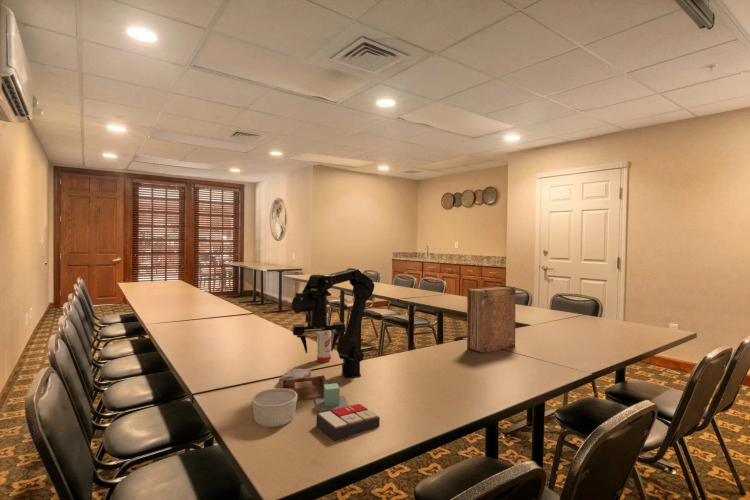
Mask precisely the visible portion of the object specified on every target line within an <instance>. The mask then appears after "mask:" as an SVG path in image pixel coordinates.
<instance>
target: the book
mask: <svg viewBox="0 0 750 500" xmlns="http://www.w3.org/2000/svg"><path fill="white" fill-rule="evenodd" d="M516 288H517V287H516V286H507V285H495V286H484V287H483V286H482V287H474V288H467V290H466V292H467V293H466V295H467V298H466V301H467V303H466V304H467V305H466V350H472V351H476V352H479V353H480V354H486V353H491V352H495V351H500V350H503V349H508V348H512V347H515V346H516V295H517V294H516Z"/></svg>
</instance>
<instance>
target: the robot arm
mask: <svg viewBox="0 0 750 500" xmlns="http://www.w3.org/2000/svg"><path fill="white" fill-rule="evenodd" d="M345 282H349V284H350V285H351V286H352V293H353V304H352V308H351V311H350V316H349V319H348V323H347V326H346V325H345V324H344V322H343V321H337V322H336V321H334V322H332V324H329V325H327V324H328V303H327V302H328V298H327V297H331V296H332V293H331V292H329V289H332V288H333V286H334V285H338V284H341V283H345ZM374 289H375V283H374V280H373V279H371V278H370V277H369V276H367V275H365V274H364V273H362V271H360V270H359V269H357V268H348V269H345V270H342V271H341V270H340V271H337V272H333V273H329V274H312V275H309V278H308V281H307V283H306V284H305V286H304V288H303V290H302V291H301V292H296V293H295V296H294V297H293V299H292V301H291V308H292V310H293V312H294V313H295V314H300V313H305V314H304V315H305V317H304V319H305V323H306V324H308V323H309V325H306V326H305V325H304V324H303V323H302V324H301V323H299V324H293V325H292V336H296V337H297V339H300V340H301V342H302V345H303V348H304V351H305V354H307V353H308V346H307V339H306V338H307V337H306V333H309V332H317V331H326V330H331V352H333V351H334V348H335V345H336V351H337V354H338V357H339V359H340V360H342V363H341V374H342V375H343V377H344V378H346V379H347V378H357V377H358V378H359V377H360V378H361V377H362V374H361V362H362V361H363V360H364V357H365V354H364V353H363V352H362V351H361V349H360V344H361V343H360V339H359V332H360V328H361V324H362V321H363V316H364V313H365V308H366V304H367V301H368V300H369V299H370V298H371V297H372V296H373V292H374ZM306 312H307V313H306ZM308 312H310V313H308ZM305 332H306V333H305ZM343 333H344V334H343ZM341 335H343V336H341ZM337 340H338V341H337Z"/></svg>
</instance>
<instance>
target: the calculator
mask: <svg viewBox="0 0 750 500" xmlns="http://www.w3.org/2000/svg"><path fill="white" fill-rule="evenodd" d="M380 420H381V419H380V416H379V415H378V414H377V413H375V412H373V411H372V410H370V409H368V408H367V407H365V406H364V405H362V404H360V403H356V404H353V405H349V406H347V407H342V408H338V409H333V410H331V411H326V412H318V413H316V421H315V422H316V423H315V424H316V426H315V427H316V428H317V429H318V430H320V432H322V433H323V434H325V436H327V437H328V438H329V439H330V440H331V441H332V442H338V441H341V440H345V439H347V438H349V437H351V436H354V435H357V434H361V433H365V432H368V431H371V430H373V429H374V430H375V429H376V428H379V427H380V422H381V421H380Z"/></svg>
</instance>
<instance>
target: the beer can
mask: <svg viewBox="0 0 750 500" xmlns="http://www.w3.org/2000/svg"><path fill="white" fill-rule="evenodd" d="M327 325H330V324H329V323H327ZM331 340H332V330H326V331H316V359H317V361H318V362H320V363H326V362H330V360H331V359H332V351H331Z"/></svg>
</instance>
